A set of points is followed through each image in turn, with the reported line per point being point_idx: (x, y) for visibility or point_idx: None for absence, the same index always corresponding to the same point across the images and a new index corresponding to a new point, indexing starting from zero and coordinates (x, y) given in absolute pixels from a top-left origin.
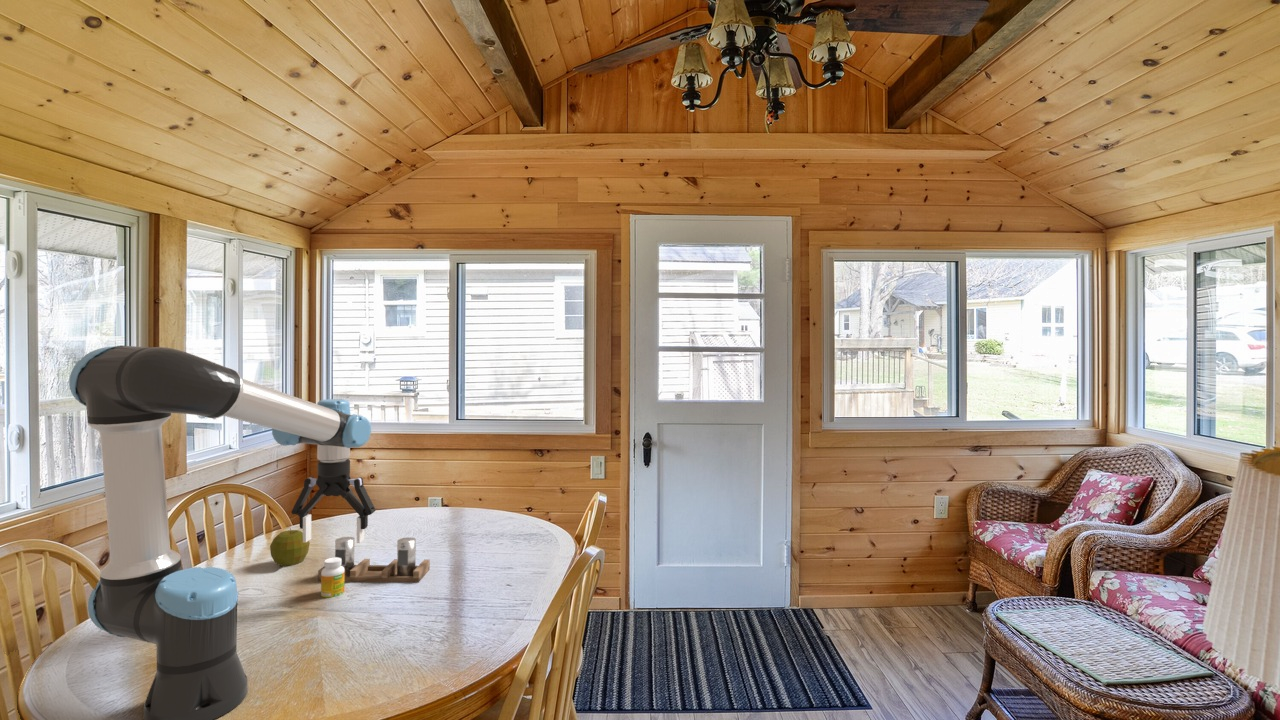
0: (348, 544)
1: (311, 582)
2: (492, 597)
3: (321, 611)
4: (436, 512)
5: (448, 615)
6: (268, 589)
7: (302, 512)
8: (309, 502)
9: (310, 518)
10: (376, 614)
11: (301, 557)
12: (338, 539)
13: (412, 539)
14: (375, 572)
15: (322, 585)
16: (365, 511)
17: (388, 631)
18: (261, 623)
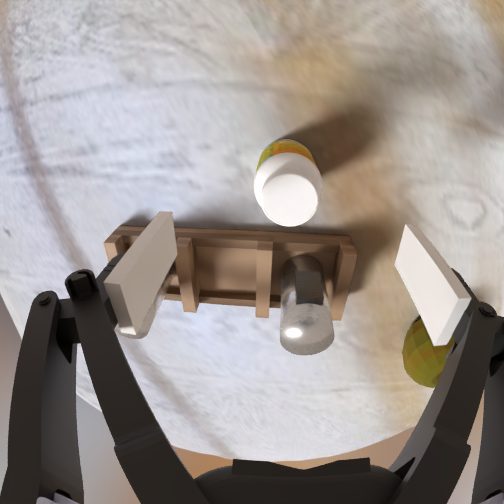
0: (289, 318)
1: (368, 251)
2: (2, 184)
3: (275, 81)
4: (253, 454)
5: (24, 105)
6: (441, 219)
7: (485, 321)
8: (479, 381)
9: (430, 323)
10: (135, 77)
11: (410, 334)
12: (327, 339)
13: (116, 325)
14: (235, 284)
15: (307, 153)
16: (68, 316)
17: (87, 19)
18: (386, 34)
